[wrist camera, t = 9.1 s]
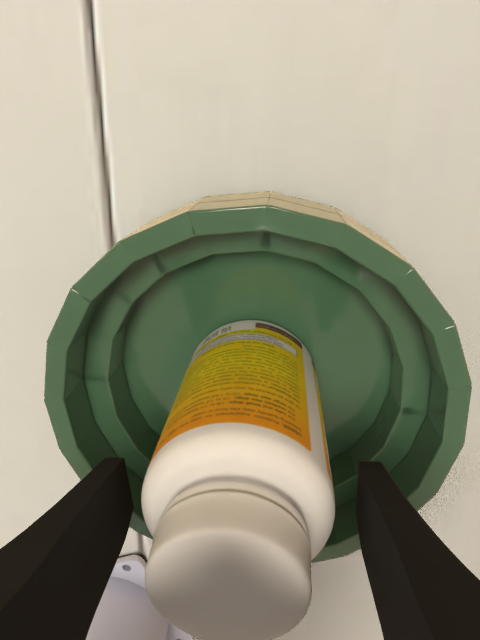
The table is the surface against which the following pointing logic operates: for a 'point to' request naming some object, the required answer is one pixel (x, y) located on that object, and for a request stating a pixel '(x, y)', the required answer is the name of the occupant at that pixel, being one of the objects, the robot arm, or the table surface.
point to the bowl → (274, 307)
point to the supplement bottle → (239, 488)
